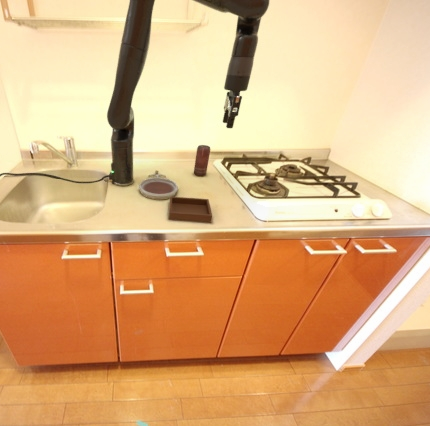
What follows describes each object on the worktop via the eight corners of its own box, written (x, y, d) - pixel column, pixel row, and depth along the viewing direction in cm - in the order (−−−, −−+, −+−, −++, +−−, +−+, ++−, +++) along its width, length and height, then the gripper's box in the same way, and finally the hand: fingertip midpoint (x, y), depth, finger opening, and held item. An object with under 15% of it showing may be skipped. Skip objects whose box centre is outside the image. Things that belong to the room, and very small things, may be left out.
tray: (168, 219, 80) (169, 212, 78) (169, 203, 90) (170, 196, 88) (210, 223, 79) (212, 215, 77) (207, 205, 88) (208, 199, 87)
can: (193, 176, 111) (197, 148, 103) (193, 171, 116) (197, 144, 109) (206, 177, 110) (211, 149, 103) (205, 172, 115) (210, 145, 108)
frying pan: (174, 168, 113) (180, 194, 89) (173, 174, 115) (180, 201, 91) (139, 168, 113) (137, 193, 89) (139, 173, 115) (137, 200, 91)
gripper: (223, 72, 81) (214, 120, 90) (230, 74, 69) (219, 129, 78) (245, 73, 80) (234, 121, 89) (256, 75, 69) (241, 130, 77)
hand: (227, 125), depth 84 cm, fingers open, 8 cm apart
